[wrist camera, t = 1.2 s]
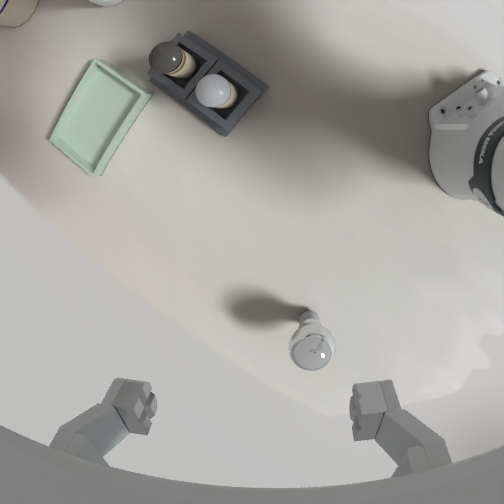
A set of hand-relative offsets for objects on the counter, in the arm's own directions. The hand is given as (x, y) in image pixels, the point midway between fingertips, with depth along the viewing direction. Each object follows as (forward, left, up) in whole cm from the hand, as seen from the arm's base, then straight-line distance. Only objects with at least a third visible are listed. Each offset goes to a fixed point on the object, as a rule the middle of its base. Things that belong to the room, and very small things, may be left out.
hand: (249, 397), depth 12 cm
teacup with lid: (0, -61, -36) cm, 71 cm away
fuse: (-6, -13, -35) cm, 38 cm away
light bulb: (+12, +18, -36) cm, 42 cm away
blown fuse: (-6, -20, -35) cm, 41 cm away
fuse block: (-6, -17, -36) cm, 40 cm away
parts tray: (+7, -28, -36) cm, 46 cm away
